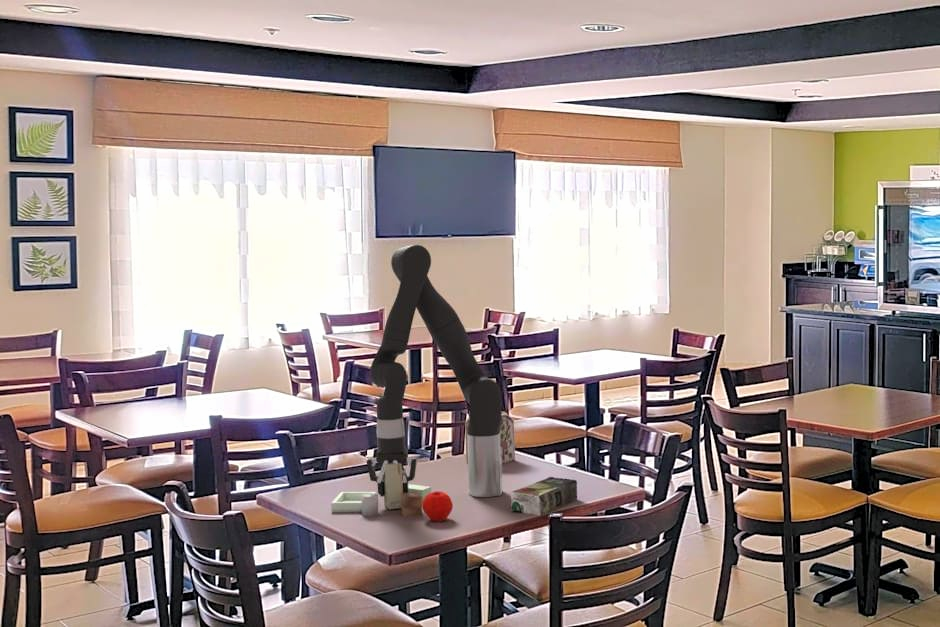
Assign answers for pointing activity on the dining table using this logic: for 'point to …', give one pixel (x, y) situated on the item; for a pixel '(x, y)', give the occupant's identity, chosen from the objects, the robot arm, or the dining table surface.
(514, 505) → the juice carton
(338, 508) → the tray
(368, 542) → the dining table surface
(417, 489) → the sage block
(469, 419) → the robot arm
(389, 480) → the skincare box
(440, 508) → the apple
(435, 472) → the dining table surface
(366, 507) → the grey cylinder
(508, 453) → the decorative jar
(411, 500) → the walnut block
